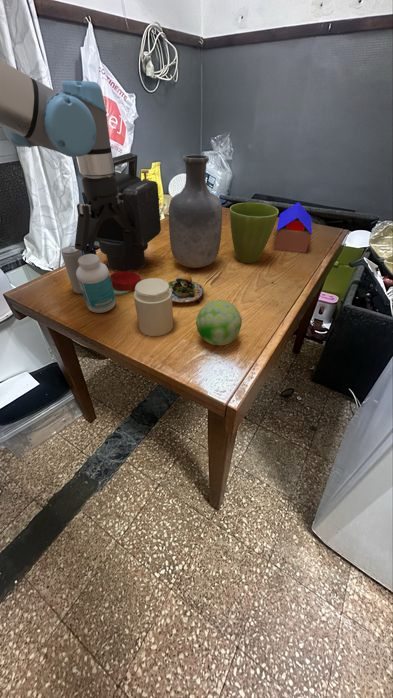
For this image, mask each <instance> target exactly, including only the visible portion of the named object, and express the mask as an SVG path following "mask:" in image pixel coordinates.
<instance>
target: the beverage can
mask: <svg viewBox="0 0 393 698" xmlns="http://www.w3.org/2000/svg"><path fill="white" fill-rule="evenodd" d="M60 251H61V256H62V259H63V263H64V266H65V269H66V272H67V275H68V278H69V281H70V284H71V287H72V291H73V292H74V293H75V294H78V295H83V293H82V290H81V287H80V284H79V282H78V279H77V276H76V271H77V269H78V267H79V263H78V259H79V258H80V257H81V256H83V253H82V251H80V250H77V249H75V245H68V246H65V247H63V248H61V250H60Z"/></svg>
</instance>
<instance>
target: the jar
mask: <svg viewBox="0 0 393 698" xmlns="http://www.w3.org/2000/svg"><path fill="white" fill-rule="evenodd" d="M133 301H134V305H135V312H136V319H137V325H138V330H139V331H140V333H142V334H143V335H146V336H149V337H161V336H164V335H166V334H169V332H171V331H172V330H173V328H174V311H173V310H174V309H173V308H174V307H173V301H172V292H171V290H170V288H169V284H168V281H166V280H164V279H162V278H159V277H157V278H156V277H149V278H144V279H141V281H140V282H138V283H137V284H136V287H135V290H134V293H133Z"/></svg>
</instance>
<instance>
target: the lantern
mask: <svg viewBox="0 0 393 698" xmlns="http://www.w3.org/2000/svg"><path fill="white" fill-rule="evenodd" d="M113 163H114V170H115V172H114V173H113V175H114V176H115V177H116V184H117V191H118V193H123V194H125V195H126V199H127V203H128V205H129V207H130V209H131V212H132V214H133V216H134V218H135V225H136V228H135V227H134V228H135V229H136V233H133V236H134V243H133V244H134V252H135V257H131V256H128V255H126V251H125V244H124V238H123V232H124V231H125V230H124V229H123V228H122V227H121V225H120V224H119V223H118V222H117V221H116V220H115V219H114V218H108V219H107V220H105V221H103V223H102V224H101V225H100V227H99V230H98V234H97V237H96V240H95V242H97V243H98V245H99V251H100V252H101V253H102V254H103V255H105V256H106V261H107V266H108V268H109V269H111V270H113V271H115V272H119V271H129V272H134V271H137V270H139V269H141V268H143V267H144V266H145V265H146V256H145V251H146V250H147V249H148V247H149V243H150V242H151V241H153V240H154V239H155V238H156V237H157V236H158V235H160V233H161V231H162V225H161V223H162V222H161V212H160V211H161V210H160V209H161V208H160V198H159V184H158V182H157V181H155V180H150V179H149V178H147V176H148V175H147V174H149V172H150V171H149V169H141V170H140V173H141V174H143V177H144V178H143V179H141V178H140V177H139V176H138V175H137V173H138V172H137V171H138V155H137V154H135V153H132V152H128V153H124V154H121V155H118V156H113ZM127 163H128V169H127V170H128V171H127V173H125V172H124V173H123V172H116V167H117V166H121V165H124V164H127ZM81 196H82V201H83V205H85V204H87V203H88V198H87V196H86V195H85V193H84V191H82V192H81ZM117 208H118V209H119V210H120V208H119V206H118V204H117ZM90 212H91V211H90ZM120 212H121V210H120ZM121 214H122V212H121ZM122 215H123V214H122ZM95 219H97V218H96V217H95ZM129 223H130V224H132V222H131V221H129ZM125 232H126V231H125Z"/></svg>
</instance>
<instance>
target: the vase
mask: <svg viewBox="0 0 393 698" xmlns="http://www.w3.org/2000/svg"><path fill="white" fill-rule="evenodd" d="M209 157H210V156H208V155H206V154H196V153H195V154H185V155H183V156H182V161H183V162H184V164H185V165H184V166H185V184H184V187H183V188H182V190H181V191H180V192H179V193H176V194H175V195H174V196H172V198H171V199H170V201H169V204H168V205H169V206H168V231H169V233H168V234H169V243H170V244H169V245H170V250H171V253H172V257H173V258H174V260H175V261H176V262H177V263H178V264H179V265H182V266H183V267H186V268H191V269H192V268H193V269H199V268H200V269H201V268H204V267H207V266H209V265H211V264H212V263H214V262H215V261H216V259H217V258H218V256H219V252H220V248H221V240H222V239H221V238H222V227H223V206H222V202H221V199H220V198H219V197H218V196H217V195H216V194H214V193H213V192H211V191H210V190H209V188H208V186H207V181H206V180H207V179H206V177H207V176H206V174H207V164H208V163H209V161H210V158H209Z"/></svg>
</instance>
